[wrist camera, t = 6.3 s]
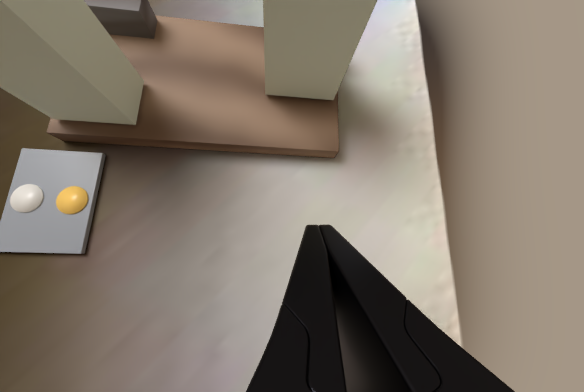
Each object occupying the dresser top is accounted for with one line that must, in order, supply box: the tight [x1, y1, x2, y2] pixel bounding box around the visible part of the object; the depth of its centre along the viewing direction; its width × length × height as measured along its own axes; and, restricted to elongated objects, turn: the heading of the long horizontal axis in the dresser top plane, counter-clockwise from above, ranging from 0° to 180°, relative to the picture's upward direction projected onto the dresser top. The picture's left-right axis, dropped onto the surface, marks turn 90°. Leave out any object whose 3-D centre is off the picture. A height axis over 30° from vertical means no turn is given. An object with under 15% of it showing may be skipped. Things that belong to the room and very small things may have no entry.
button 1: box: [263, 0, 377, 100], centre depth 16 cm, size 4×6×11 cm, turn 89°
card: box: [0, 148, 106, 254], centre depth 18 cm, size 8×6×1 cm
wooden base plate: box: [47, 0, 339, 158], centre depth 20 cm, size 12×23×4 cm, turn 89°
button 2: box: [0, 0, 144, 125], centre depth 14 cm, size 4×6×11 cm, turn 89°
